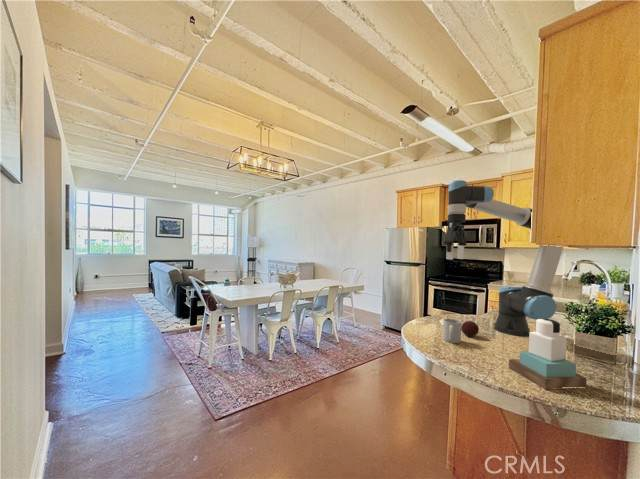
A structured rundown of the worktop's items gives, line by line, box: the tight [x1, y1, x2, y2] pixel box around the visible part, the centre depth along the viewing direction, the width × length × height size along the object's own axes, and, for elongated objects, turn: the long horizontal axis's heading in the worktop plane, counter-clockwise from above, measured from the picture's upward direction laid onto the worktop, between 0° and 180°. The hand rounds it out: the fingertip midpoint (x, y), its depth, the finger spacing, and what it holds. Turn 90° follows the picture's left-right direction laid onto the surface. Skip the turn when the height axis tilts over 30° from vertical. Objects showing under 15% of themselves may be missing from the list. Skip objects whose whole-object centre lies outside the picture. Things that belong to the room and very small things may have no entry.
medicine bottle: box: [528, 318, 568, 361], centre depth 91 cm, size 7×7×12 cm
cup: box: [442, 318, 462, 344], centre depth 122 cm, size 7×10×9 cm
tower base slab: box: [508, 358, 587, 390], centre depth 91 cm, size 14×14×4 cm
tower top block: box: [519, 350, 577, 377], centre depth 90 cm, size 10×10×4 cm
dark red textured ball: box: [461, 320, 480, 337], centre depth 131 cm, size 7×8×7 cm
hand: (455, 259), depth 128 cm, fingers open, 13 cm apart
